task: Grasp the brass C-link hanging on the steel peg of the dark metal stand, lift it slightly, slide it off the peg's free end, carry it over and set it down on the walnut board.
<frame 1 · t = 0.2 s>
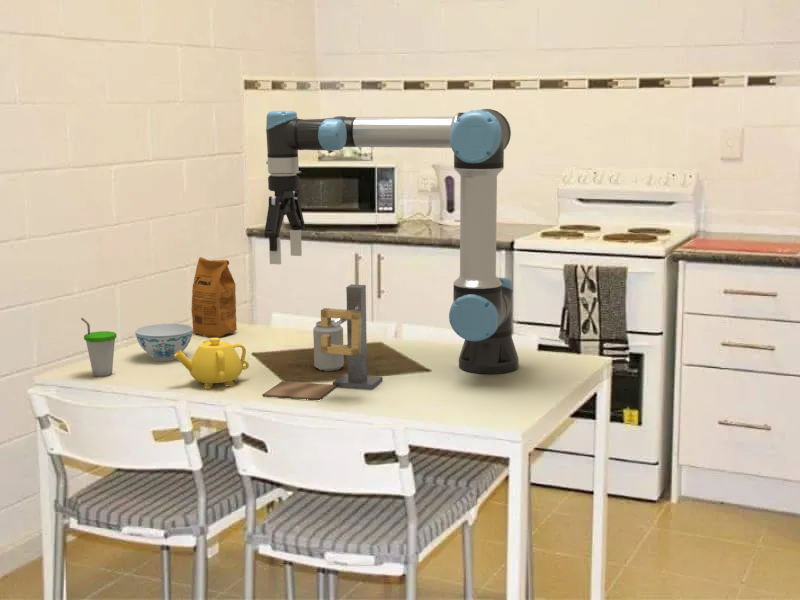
hand: (286, 259, 288), 28 cm above the table, fingers open, 13 cm apart
can: (329, 368, 294), on the table
chinaware: (165, 358, 307), on the table
walnut board: (300, 392, 272), on the table
stand: (357, 384, 278), on the table
coffee package: (214, 334, 335), on the table
c link: (341, 353, 266), point 10 cm above the table, touching stand
teapot: (212, 383, 281), on the table
cup: (102, 375, 290), on the table
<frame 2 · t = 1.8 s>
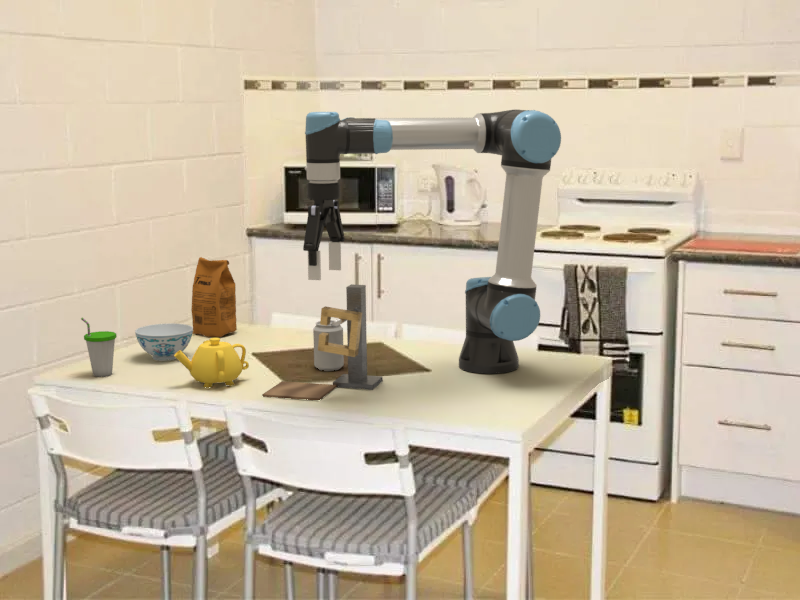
hand: (325, 274, 263), 28 cm above the table, fingers open, 13 cm apart
c link: (337, 352, 266), point 10 cm above the table, tilted 7°, touching stand
everything else where it was.
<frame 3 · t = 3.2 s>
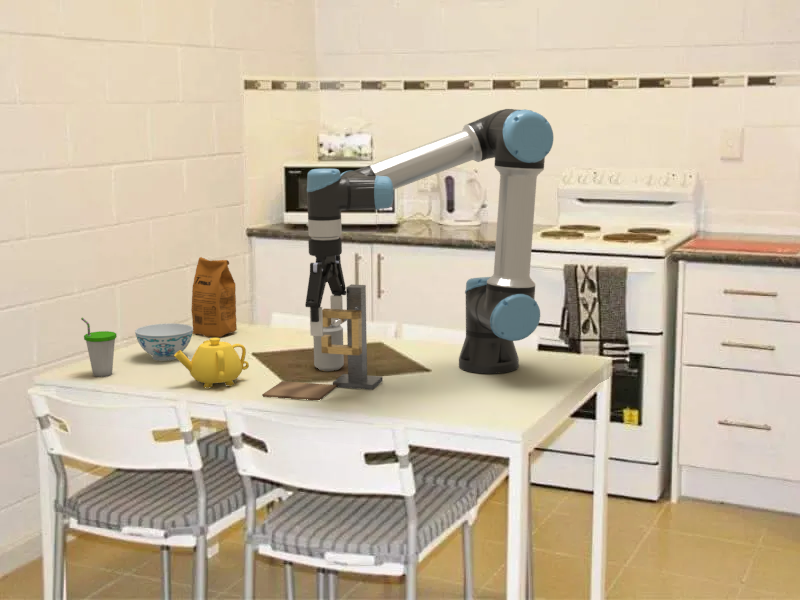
hand: (327, 329, 266), 16 cm above the table, fingers open, 13 cm apart
c link: (341, 353, 266), point 10 cm above the table, touching stand
everything else where it was.
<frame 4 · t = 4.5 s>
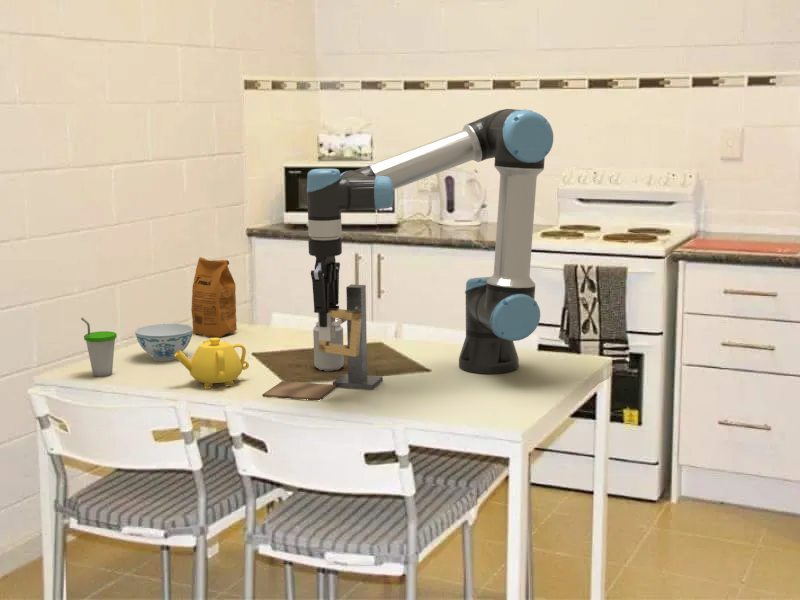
hand: (327, 338, 266), 14 cm above the table, fingers closed on c link, 2 cm apart
c link: (338, 352, 266), point 10 cm above the table, tilted 5°, touching gripper, stand
everything else where it was.
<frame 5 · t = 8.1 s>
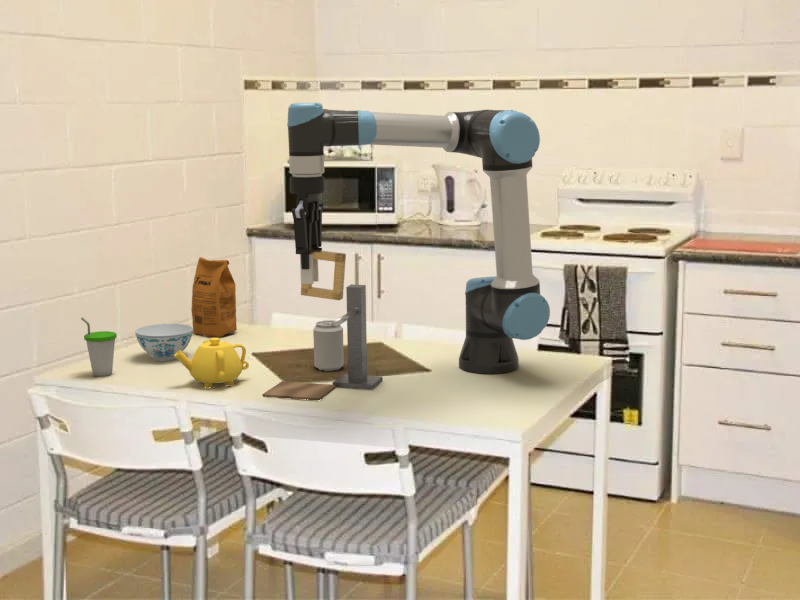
hand: (309, 282, 254), 28 cm above the table, fingers closed on c link, 2 cm apart
c link: (321, 296, 254), point 25 cm above the table, tilted 5°, touching gripper
everything else where it was.
when the fingers open (5 cm above the table, at t = 12.2 s): c link drops 1 cm, resting on walnut board.
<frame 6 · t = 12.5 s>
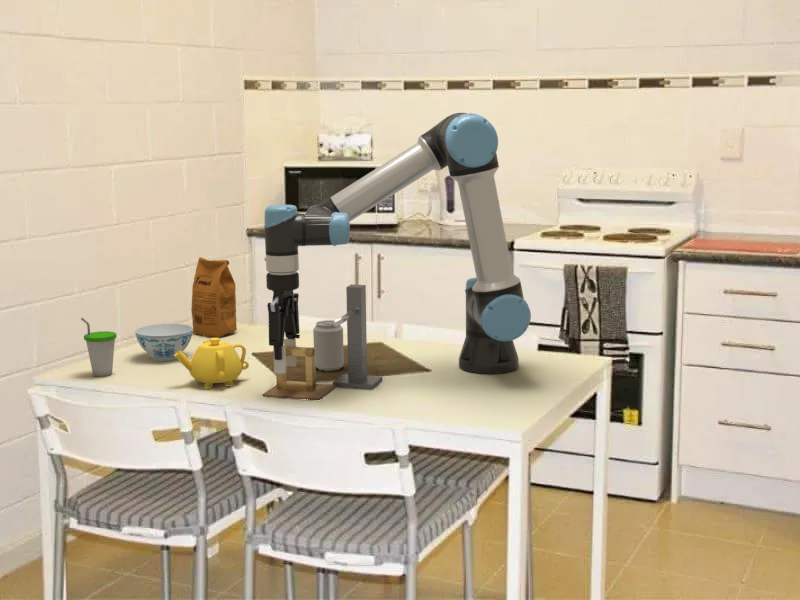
hand: (285, 369, 272), 5 cm above the table, fingers open, 6 cm apart
c link: (296, 389, 272), point 1 cm above the table, touching walnut board
everything else where it was.
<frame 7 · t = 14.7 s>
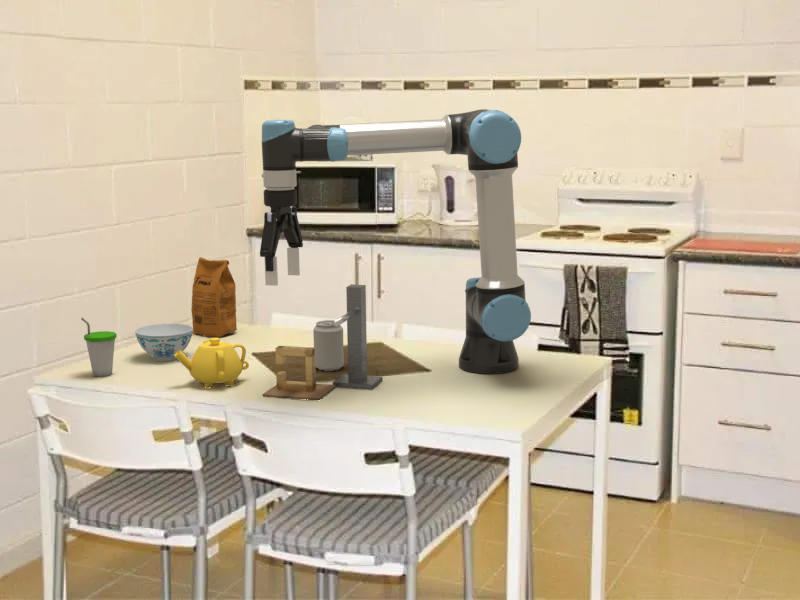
hand: (283, 280, 268), 27 cm above the table, fingers open, 13 cm apart
nothing on the table moved.
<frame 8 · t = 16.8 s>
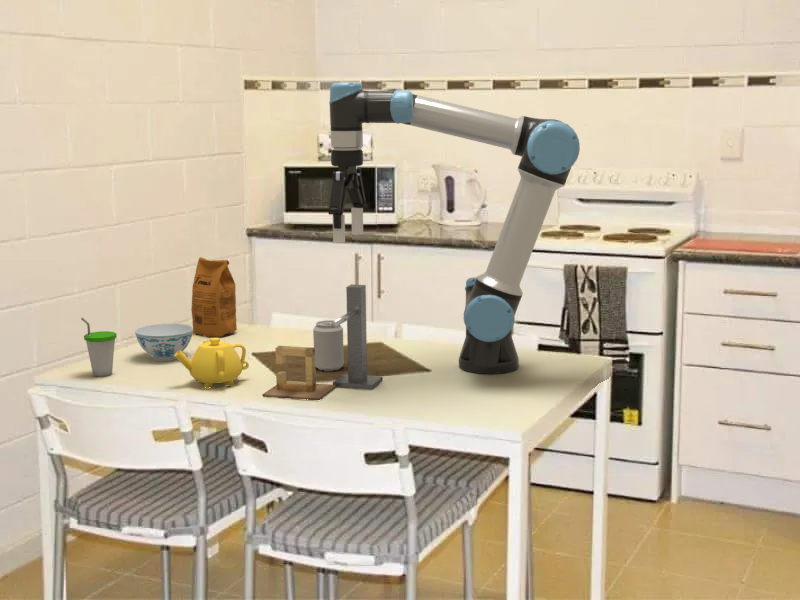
hand: (348, 238, 276), 35 cm above the table, fingers open, 13 cm apart
nothing on the table moved.
at the end: c link inside the target area (0.9 cm from its centre), point 0.6 cm above the table; the gripper is holding nothing; c link touching walnut board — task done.
